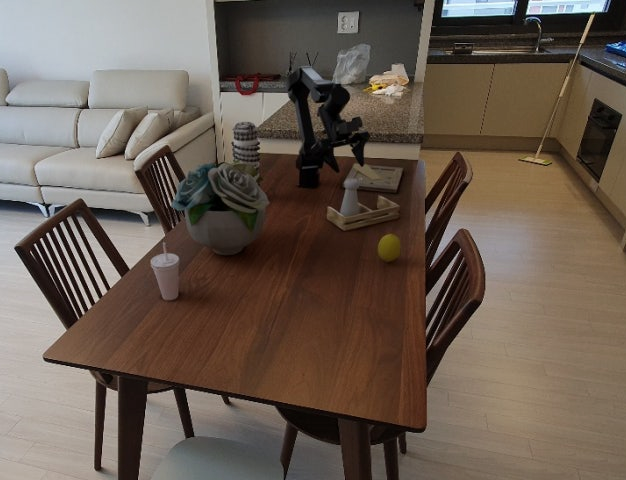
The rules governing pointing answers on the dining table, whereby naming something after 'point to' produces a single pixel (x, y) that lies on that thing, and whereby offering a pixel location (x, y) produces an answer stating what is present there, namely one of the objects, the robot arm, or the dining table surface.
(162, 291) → the smoothie
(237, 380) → the dining table surface
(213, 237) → the flower arrangement
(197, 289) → the dining table surface
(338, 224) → the rack
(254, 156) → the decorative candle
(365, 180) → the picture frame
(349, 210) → the salt shaker
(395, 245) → the lemon
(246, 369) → the dining table surface
